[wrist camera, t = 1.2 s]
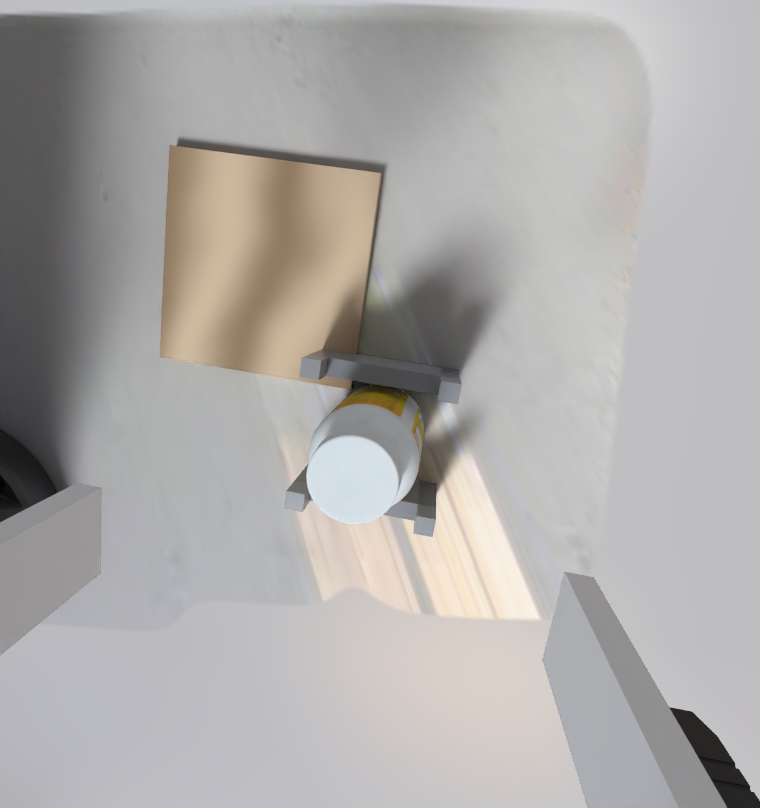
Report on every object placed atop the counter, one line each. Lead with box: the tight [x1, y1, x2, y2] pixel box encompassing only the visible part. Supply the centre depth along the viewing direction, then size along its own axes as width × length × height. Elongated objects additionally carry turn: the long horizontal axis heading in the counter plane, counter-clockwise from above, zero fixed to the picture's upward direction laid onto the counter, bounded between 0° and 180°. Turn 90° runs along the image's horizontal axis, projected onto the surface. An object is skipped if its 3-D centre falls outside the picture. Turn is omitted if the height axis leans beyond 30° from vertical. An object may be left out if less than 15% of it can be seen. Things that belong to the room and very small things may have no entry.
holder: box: [285, 349, 461, 537], centre depth 27 cm, size 8×8×5 cm
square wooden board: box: [160, 145, 382, 389], centre depth 28 cm, size 12×12×1 cm
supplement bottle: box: [306, 384, 424, 524], centre depth 25 cm, size 5×5×10 cm
